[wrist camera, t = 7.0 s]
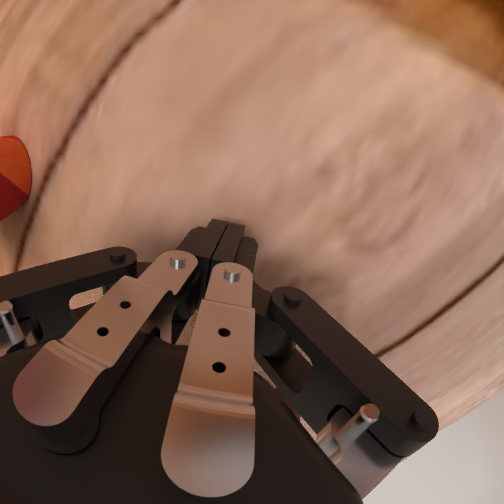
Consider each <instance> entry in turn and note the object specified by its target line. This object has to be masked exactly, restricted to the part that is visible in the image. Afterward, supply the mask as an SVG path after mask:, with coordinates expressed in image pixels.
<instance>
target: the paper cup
mask: <svg viewBox="0 0 504 504" xmlns="http://www.w3.org/2000/svg"><path fill="white" fill-rule="evenodd" d="M31 182H32V172H31V164H30V159H29V155H28V152H27V150H26V148H25V146H24V144H23V142H22V141H21V140H20V139H19V138H17V137H15V136H3V137H0V221H1V220H3V219H4V218H6V217H7V216H8V215H10V214H11V213H13V212H14V211H16V210H17V209H18V208H20V207H21V206H22V205H23V204H24V203H25V202H26V201H27V199H28V197H29V194H30V190H31Z"/></svg>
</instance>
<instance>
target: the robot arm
mask: <svg viewBox="0 0 504 504" xmlns="http://www.w3.org/2000/svg"><path fill="white" fill-rule="evenodd" d="M244 231H245V226H244V225H239V224H235V223H230V222H229V224H228V222H225V221H221V220H216V219H212V220H211V222H210V223H209V225H208V226H207V228H204V227H196V228H194V229H192V230H191V231H190V232H189V233H188V235H187V236H186V237H185V238H184V240H183V241H182V242H181V244H180V245H179V246H178V248H177V249H176V250H172V251H167V252H164V253H162V254H161V255H160V256H159V257H158V258H157V259H156V260H155V261H154V262H153V263H148V262H137V255H136V253H135V252H134V251H133V250H131V249H129V248H126V247H111V248H107V249H103V250H99V251H95V252H91V253H87V254H82V255H78V256H75V257H71V258H67V259H63V260H59V261H55V262H51V263H48V264H44V265H40V266H36V267H33V268H29V269H25V270H22V271H18V272H15V273H11V274H8V275H4V276H1V277H0V504H363V501H362V499H363V498H364V497H365V496H366V495H368V494H369V493H370V492H371V491H372V490H373V489H374V488H375V487H376V486H377V485H378V484H379V483H380V482H381V481H382V480H383V479H384V478H385V477H386V476H387V475H388V474H389V473H390V472H391V471H392V470H393V469H394V468H395V466H396V465H397V464H398V463H400V462H401V461H403V460H404V459H406V458H407V457H409V456H410V455H412V454H413V453H414V452H416V451H417V450H419V449H420V448H421V447H423V446H424V445H425V444H427V443H428V442H429V441H431V440H432V439H433V438H434V437H435V436H436V434H437V432H438V428H439V423H438V418H437V416H436V414H435V412H434V411H433V409H432V408H431V407H430V406H429V405H428V404H427V403H426V402H424V401H423V400H422V399H421V398H420V397H419V396H418V395H417V394H416V393H415V392H414V391H412V390H411V389H410V388H409V387H408V386H407V385H406V384H405V383H404V382H403V381H402V380H401V379H399V378H398V377H397V376H396V375H395V374H394V373H393V372H392V371H391V370H390V369H389V368H387V367H386V366H385V365H384V364H383V363H382V362H381V361H380V360H379V359H378V358H376V357H375V356H374V355H373V354H372V353H371V352H370V351H369V350H368V349H367V348H366V347H364V346H363V345H362V344H361V343H360V342H359V341H358V340H357V339H356V338H355V337H353V336H352V335H351V334H350V333H349V332H348V331H347V330H346V329H345V328H344V327H342V326H341V325H340V324H339V323H338V322H337V321H336V320H335V319H334V318H333V317H331V316H330V315H329V314H328V313H327V312H326V311H325V310H324V309H323V308H322V307H320V306H319V305H318V304H317V303H316V302H315V301H314V300H313V299H312V298H310V297H309V296H308V295H307V294H306V293H304V292H303V291H301V290H299V289H296V288H293V287H278V288H276V289H274V290H273V292H272V293H271V292H268V291H266V290H264V289H262V288H261V287H259V286H258V285H257V284H256V283H255V282H254V280H253V275H252V274H253V269H254V264H255V258H256V253H257V248H258V244H257V242H256V241H255V239H253V238H249V237H244ZM101 286H102V289H103V296H102V297H101V298H100V299H99V300H98V301H97V302H95V303H92V304H89V305H86V306H83V307H80V308H76V309H70V307H69V301H70V299H71V297H72V296H74V295H75V294H78V293H81V292H85V291H88V290H91V289H95V288H98V287H101ZM195 309H198V310H199V311H198V314H197V318H196V322H195V325H194V329H193V333H192V336H191V340H190V344H189V346H187V345H180V343H181V341H182V339H183V338H184V336H185V334H186V332H187V330H188V328H189V326H190V325H191V322H192V315H193V314H194V311H195ZM296 344H297V345H298V346H299V347H300V348H301V349H302V350H303V351H304V352H305V353H306V354H307V356H308V357H309V358H310V360H311V362H312V365H311V364H310V363H309V362H308V361H307V360H306V359H305V358H304V357H303V356H302V355H301V353H300V352H299V351H298V350H297V349H296V348H295V346H296ZM254 357H255V359H256V361H257V362H258V364H259V365H260V366H261V367H262V369H263V370H264V371H265V373H266V374H267V375H268V376H269V378H270V379H271V380H272V381H273V383H274V384H275V385H276V386H277V388H278V389H279V390H280V391H281V392H282V394H283V395H284V396H285V397H286V399H287V400H288V401H289V402H290V403H291V405H292V406H293V407H294V408H295V409H296V411H297V412H298V413H299V414H300V415H301V417H302V418H303V419H304V420H305V421H306V422H307V424H308V425H309V426H310V427H311V428H312V429H313V430H314V432H315V433H316V434H317V437H316V442H315V440H314V439H313V438H312V437H311V435H310V434H309V433H308V432H307V430H306V429H305V428H304V427H303V425H302V424H301V423H300V422H299V420H298V419H297V418H296V416H295V415H294V414H293V413H292V411H291V410H290V409H289V407H288V406H287V405H286V403H285V402H284V401H283V399H282V398H281V397H280V396H279V394H278V393H277V391H276V390H275V389H274V388H273V387H272V385H271V384H270V383H269V382H268V381H267V380H265V379H264V378H263V377H262V376H260V375H259V374H258V373H256V372H255V371H253V368H254Z"/></svg>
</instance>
